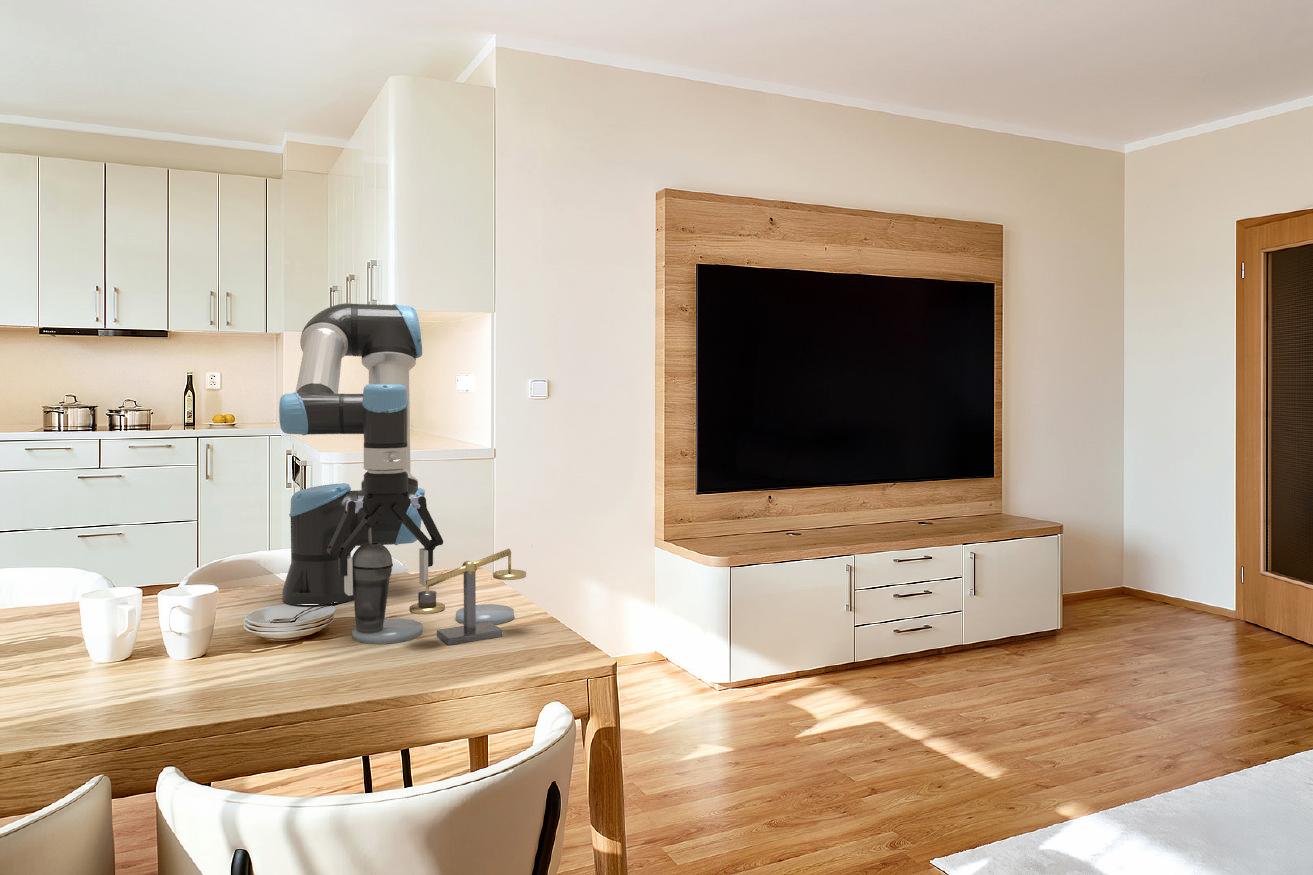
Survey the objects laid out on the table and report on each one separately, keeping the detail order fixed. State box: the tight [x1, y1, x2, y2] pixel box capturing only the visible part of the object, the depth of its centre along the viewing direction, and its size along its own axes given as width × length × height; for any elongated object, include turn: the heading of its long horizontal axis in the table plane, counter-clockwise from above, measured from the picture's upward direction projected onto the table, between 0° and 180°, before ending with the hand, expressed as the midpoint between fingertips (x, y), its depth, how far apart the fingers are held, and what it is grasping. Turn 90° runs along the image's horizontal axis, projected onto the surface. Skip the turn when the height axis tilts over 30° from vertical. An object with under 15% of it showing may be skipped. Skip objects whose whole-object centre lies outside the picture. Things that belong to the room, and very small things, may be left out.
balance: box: [409, 548, 527, 646], centre depth 157 cm, size 6×21×15 cm, turn 123°
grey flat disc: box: [351, 617, 423, 645], centre depth 159 cm, size 12×12×1 cm
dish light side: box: [455, 603, 515, 626], centre depth 170 cm, size 11×11×1 cm
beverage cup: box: [351, 517, 394, 633], centre depth 157 cm, size 7×7×20 cm
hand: (387, 589), depth 158 cm, fingers open, 13 cm apart
